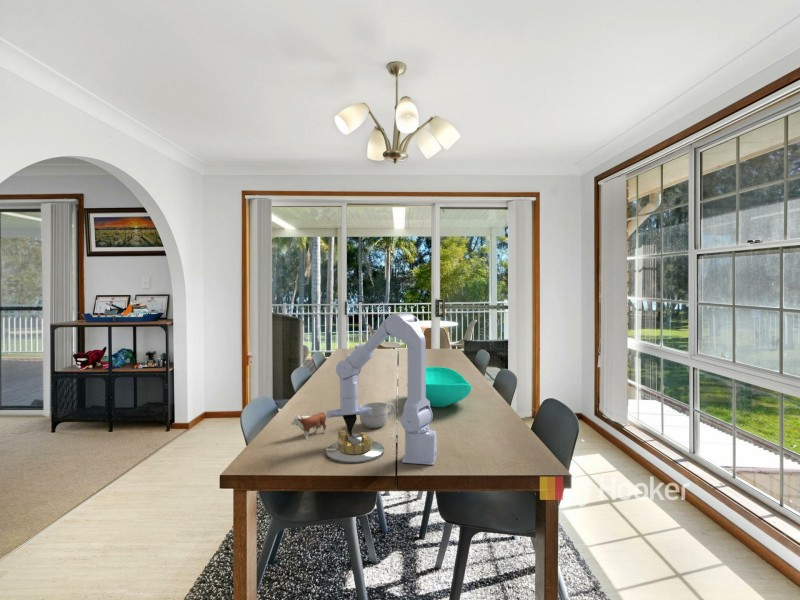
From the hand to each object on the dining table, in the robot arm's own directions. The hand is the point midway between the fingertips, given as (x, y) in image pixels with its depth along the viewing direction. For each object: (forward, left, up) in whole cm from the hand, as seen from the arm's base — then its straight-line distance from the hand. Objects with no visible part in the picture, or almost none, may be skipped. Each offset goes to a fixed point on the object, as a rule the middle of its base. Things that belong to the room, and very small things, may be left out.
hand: (349, 437), depth 151 cm
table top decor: (-23, -55, -3) cm, 60 cm away
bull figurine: (+16, -6, -3) cm, 18 cm away
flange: (-4, +6, -2) cm, 7 cm away
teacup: (-4, -22, -3) cm, 23 cm away
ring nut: (-3, +4, -1) cm, 5 cm away
